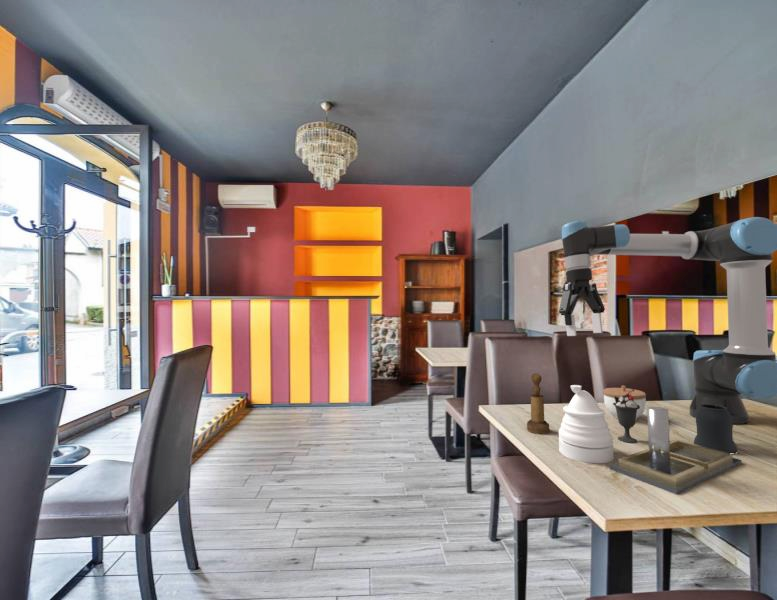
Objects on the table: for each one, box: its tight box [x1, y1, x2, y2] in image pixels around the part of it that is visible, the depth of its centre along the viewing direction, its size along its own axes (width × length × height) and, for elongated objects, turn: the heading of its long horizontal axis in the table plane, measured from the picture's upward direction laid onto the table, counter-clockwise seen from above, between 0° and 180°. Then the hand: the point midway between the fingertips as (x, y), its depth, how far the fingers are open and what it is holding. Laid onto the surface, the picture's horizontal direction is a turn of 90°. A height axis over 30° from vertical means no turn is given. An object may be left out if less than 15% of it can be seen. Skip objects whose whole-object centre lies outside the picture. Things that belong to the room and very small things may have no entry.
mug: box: [692, 404, 739, 453], centre depth 101 cm, size 12×9×11 cm
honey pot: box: [558, 384, 615, 464], centre depth 99 cm, size 13×13×18 cm
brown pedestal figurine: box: [526, 373, 550, 435], centre depth 118 cm, size 7×6×18 cm
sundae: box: [613, 388, 640, 444], centre depth 107 cm, size 7×7×15 cm
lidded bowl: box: [602, 385, 647, 420], centre depth 129 cm, size 13×13×11 cm
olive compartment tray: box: [609, 406, 743, 495], centre depth 90 cm, size 30×14×15 cm, turn 117°
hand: (585, 334), depth 119 cm, fingers open, 13 cm apart
